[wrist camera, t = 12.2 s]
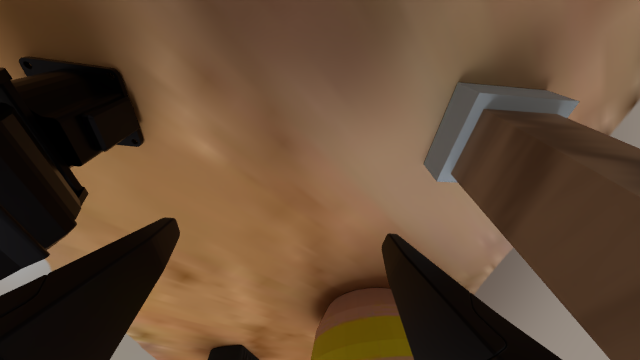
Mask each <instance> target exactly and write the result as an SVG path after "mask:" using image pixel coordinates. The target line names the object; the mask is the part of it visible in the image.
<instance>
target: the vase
mask: <svg viewBox="0 0 640 360" xmlns="http://www.w3.org/2000/svg"><path fill="white" fill-rule="evenodd" d="M311 360H414V358H413V355H412V352H411V349H410V346H409V343H408V340H407V337H406V334H405V331H404V328H403V325H402V322H401V319H400V316H399V312H398V309H397V306H396V303H395V300H394V297H393V294H392V291H391V289H387V288H366V289H360V290H355V291H352V292H349V293H346V294H344V295H341V296H340V297H338V298H336V299H335V300H334V301H333V302H332V303H331V304H330V305H329V307H328V309H327V311H326V312H325V314H324V316H323V318H322V320H321V322H320V324H319V326H318V328H317V331H316V335H315V341H314V346H313V351H312V356H311Z"/></svg>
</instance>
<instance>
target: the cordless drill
mask: <svg viewBox="0 0 640 360" xmlns="http://www.w3.org/2000/svg"><path fill="white" fill-rule="evenodd" d="M208 360H258V359H257V358H256V357H255V356H254V355H253V354H251V353H250V352H249V351H248V350H247V349H246V348H244V347H243V346H242V345H239V346H225V347H220V348H215V349H212V350H211V351H210V354H209V357H208Z"/></svg>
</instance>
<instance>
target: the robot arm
mask: <svg viewBox="0 0 640 360" xmlns="http://www.w3.org/2000/svg"><path fill="white" fill-rule="evenodd" d="M19 63H20V65H21V67H22V69H23V70H24V72H25V74H26V76H27V77H23V78H19V79H15V80H11V79H12V78H11V76H10V75H9V73H8V72H7V70H6V69H5V68H0V280H2V279H4V278H6V277H7V276H9V275H11V274H13V273H15V272H16V271H18V270H20V269H22V268H24V267H27V266H29V265H31V264H33V263H36V262H38V261H41V260H43V259H45V258H47V257H48V256H49V255H50V254H49V253H48V252H47V251H46V250H47V249H49V248H50V247H52V246H53V245H55V244H56V243H57V242H58V241H59V240H61V239H62V238H64V237H65V236H66V235H67V234H68V233H69V232H71V231H72V230H73V229H74V227H75V226H76V225H77V223H76V221H75V219H76V218H77V216H78V214H79V212H80V210H81V206H82V204H83V202H84V200H85V199H86V197H87V195H88V192H87V190H86V189H85V187H82V186H81V185H80V183H79V182H78V180H77V179H76V177H75V176H74V174H73V173H72V171H71V170H70V168H71V167H73V166H82V165H84V164H85V163H87V162H88V161H90V160H91V159H92V158H94V157H95V156H97V155H98V154H100V153H101V152H103V151H104V152H105V151H108V150H109V149H111V148H112V147H113V146H115V145H125V146H135V147H139V146H140V145H142V144H143V138H142V135H141V132H140V129H139V125H138V122H137V119H136V116H135V113H134V110H133V107H132V104H131V101H130V99H129V97H128V94H127V91H126V88H125V85H124V82H123V79H122V77H121V74H120V73H119V72H118V71H117V70H116V69H114V68H109V67H101V66H94V65H87V64H79V63H72V62H64V61H57V60H50V59H42V58H35V57H23V58H20V59H19ZM29 63H30V64H31V65H32V66H31V65H30V64H29ZM110 73H112V74H113V75H114V78H113V77H112V76H111V74H110ZM134 139H135V140H137V142H136V141H135V140H134ZM179 236H180V231H179V228H178V224H177V221H176V219H175V218H166V217H165V218H162V219H160V220H158V221H156V222H154V223H152V224H150V225H147V226H145V227H143V228H141V229H139V230H137V231H135V232H133V233H131V234H129V235H127V236H125V237H123V238H121V239H119V240H117V241H114V242H112V243H110V244H108V245H106V246H104V247H102V248H100V249H98V250H96V251H94V252H92V253H90V254H88V255H86V256H83V257H81V258H79V259H77V260H75V261H73V262H71V263H69V264H67V265H65V266H63V267H61V268H59V269H57V270H55V271H52V272H50V273H49V274H48V275H43V276H41V277H39V278H37V279H35V280H33V281H31V282H29V283H27V284H25V285H23V286H21V287H18V288H16V289H14V290H12V291H10V292H8V293H6V294H4V295H1V296H0V360H110V358H111V356H112V355H113V353H114V352H115V350H116V348H117V347H118V345H119V343H120V342H121V340H122V339H123V337H124V335H125V334H126V332H127V330H128V329H129V327H130V325H131V324H132V322H133V320H134V319H135V317H136V315H137V314H138V312H139V311H140V309H141V307H142V306H143V304H144V302H145V301H146V299H147V297H148V296H149V294H150V292H151V291H152V289H153V287H154V286H155V284H156V283H157V281H158V279H159V278H160V276H161V274H162V273H163V271H164V269H165V267H166V265H167V263H168V261H169V259H170V256H171V254H172V252H173V250H174V248H175V245H176V243H177V241H178V239H179ZM382 254H383V259H384V264H385V269H386V274H387V278H388V282H389V285H390V288H391V291H392V294H393V297H394V300H395V303H396V306H397V309H398V312H399V316H400V319H401V322H402V325H403V328H404V331H405V334H406V337H407V340H408V343H409V346H410V349H411V352H412V355H413V358H414V360H562V359H560V358H559V357H558V356H556V355H555V354H553V353H552V352H551V351H549V350H548V349H546V348H545V347H544V346H542V345H541V344H539V343H538V342H537V341H535V340H534V339H532V338H531V337H529V336H528V335H527V334H525V333H524V332H523V331H521V330H520V329H518V328H517V327H515V326H514V325H513V324H511V323H510V322H509V321H507V320H506V319H504V318H503V317H502V316H500V315H499V314H498V313H496V312H495V311H494V310H492V309H491V308H490V307H489V306H487V305H486V304H485V303H483V302H482V301H481V300H480V299H478V298H477V297H476V296H474V295H473V294H472V293H470V292H469V291H468V290H466V289H465V288H464V287H463V286H461V285H460V284H459V283H458V282H456V281H455V280H454V279H453V278H451V277H450V276H449V275H448V274H446V273H445V272H444V271H443V270H441V269H440V268H439V267H438V266H436V265H435V264H434V263H433V262H431V261H430V260H429V259H427V258H426V257H425V256H424V255H422V254H421V253H420V252H419V251H417V250H416V249H415V248H414V247H412V246H411V245H410V244H409V243H407V242H406V241H405V240H404V239H402V238H401V237H400V236H399V235H397V234H390V233H389V234H387V236H386V238H385V240H384V242H383V244H382Z"/></svg>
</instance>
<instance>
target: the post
mask: <svg viewBox="0 0 640 360" xmlns="http://www.w3.org/2000/svg"><path fill="white" fill-rule="evenodd" d="M451 175H452V176H453V177H454V178H455V180H456V181H457V182H458V183H459V184H460V185H461V187H462V188H463V189H464V190H465V191H466V192H467V194H468V195H469V196H470V197H471V198H472V199H473V201H474V202H475V203H476V204H477V205H478V206H479V208H480V209H481V210H482V211H483V212H484V213H485V214H486V216H487V217H488V218H489V219H490V220H491V221H492V223H493V224H494V225H495V226H496V227H497V228H498V230H499V231H500V232H501V233H502V234H503V235H504V237H505V238H506V239H507V240H508V241H509V242H510V244H511V245H512V246H513V247H514V248H515V249H516V250H517V252H518V253H519V254H520V255H521V256H522V258H523V259H524V260H525V261H526V262H527V263H528V264H529V266H530V267H531V268H532V269H533V270H534V271H535V273H536V274H537V275H538V276H539V277H540V278H541V279H542V281H543V282H544V283H545V284H546V285H547V287H548V288H549V289H550V290H551V291H552V292H553V294H554V295H555V296H556V297H557V298H558V299H559V301H560V302H561V303H562V304H563V305H564V306H565V308H566V309H567V310H568V311H569V312H570V313H571V314H572V316H573V317H574V318H575V319H576V320H577V322H578V323H579V324H580V325H581V326H582V327H583V328H584V330H585V331H586V332H587V333H588V334H589V335H590V337H591V338H592V339H593V340H594V341H595V342H596V343H597V345H598V346H599V347H600V348H601V349H602V351H603V352H604V353H605V354H606V355H607V356H608V358H609V359H610V360H640V149H639V148H637V147H634V146H632V145H630V144H627V143H625V142H622V141H620V140H618V139H615V138H613V137H611V136H608V135H606V134H603V133H601V132H599V131H596V130H594V129H592V128H589V127H587V126H584V125H582V124H580V123H577V122H575V121H572V120H570V119H568V118H565V117H563V116H561V115H558V114H550V113H537V112H523V111H509V110H495V109H483V111H482V113H481V115H480V117H479V119H478V121H477V123H476V125H475V127H474V129H473V131H472V133H471V135H470V137H469V139H468V141H467V143H466V145H465V147H464V149H463V151H462V153H461V154H460V156H459V158H458V160H457V162H456V164H455V166H454V168H453V170H452V172H451Z"/></svg>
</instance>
